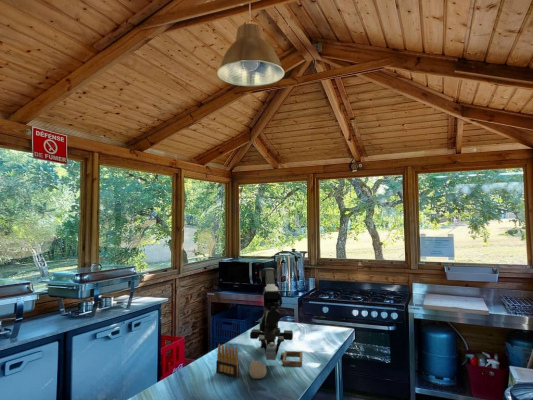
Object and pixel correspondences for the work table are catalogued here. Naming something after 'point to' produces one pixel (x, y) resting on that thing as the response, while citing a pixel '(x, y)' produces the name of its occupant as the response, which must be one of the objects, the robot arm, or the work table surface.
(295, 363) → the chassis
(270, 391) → the work table surface
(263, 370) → the garlic bulb
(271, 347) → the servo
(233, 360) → the ammunition clip
